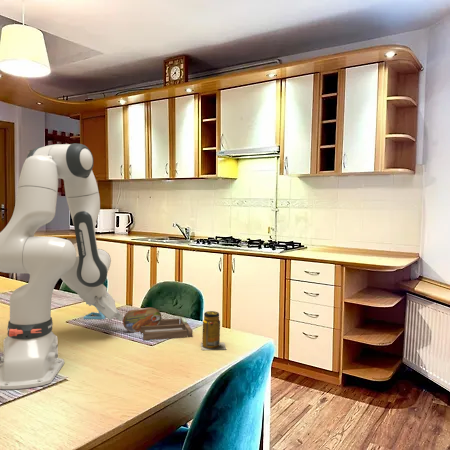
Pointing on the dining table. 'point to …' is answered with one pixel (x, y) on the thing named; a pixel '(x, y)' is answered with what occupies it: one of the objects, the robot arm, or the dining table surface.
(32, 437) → the dining table surface
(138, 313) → the tin
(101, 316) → the chair
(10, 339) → the robot arm
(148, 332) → the wooden slotted tray
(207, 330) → the condiment
